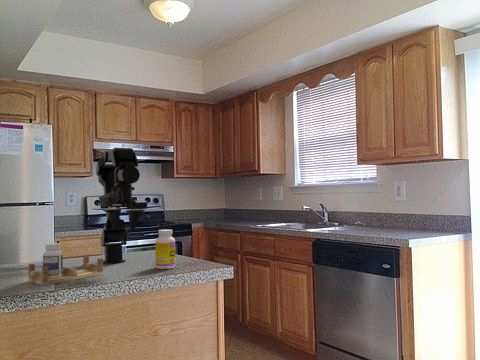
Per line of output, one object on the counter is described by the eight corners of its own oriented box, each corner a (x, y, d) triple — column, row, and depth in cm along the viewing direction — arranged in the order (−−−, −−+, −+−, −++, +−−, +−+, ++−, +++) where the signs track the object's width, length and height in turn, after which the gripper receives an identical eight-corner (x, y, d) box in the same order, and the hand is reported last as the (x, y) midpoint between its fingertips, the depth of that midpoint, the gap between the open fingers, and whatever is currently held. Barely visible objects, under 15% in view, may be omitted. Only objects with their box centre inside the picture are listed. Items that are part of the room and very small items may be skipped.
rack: (28, 281, 125) (28, 264, 125) (86, 271, 140) (86, 256, 140) (44, 285, 119) (44, 267, 119) (102, 274, 134) (102, 258, 134)
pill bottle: (51, 274, 129) (51, 242, 130) (66, 275, 128) (66, 243, 128) (38, 278, 124) (38, 244, 124) (53, 279, 123) (53, 245, 123)
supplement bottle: (171, 269, 141) (170, 231, 142) (152, 269, 142) (152, 230, 143) (178, 266, 148) (177, 229, 148) (160, 265, 149) (159, 229, 149)
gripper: (86, 184, 145) (86, 230, 144) (120, 183, 133) (120, 233, 133) (114, 184, 154) (114, 228, 153) (148, 183, 142) (148, 230, 142)
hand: (123, 230), depth 145 cm, fingers open, 9 cm apart
